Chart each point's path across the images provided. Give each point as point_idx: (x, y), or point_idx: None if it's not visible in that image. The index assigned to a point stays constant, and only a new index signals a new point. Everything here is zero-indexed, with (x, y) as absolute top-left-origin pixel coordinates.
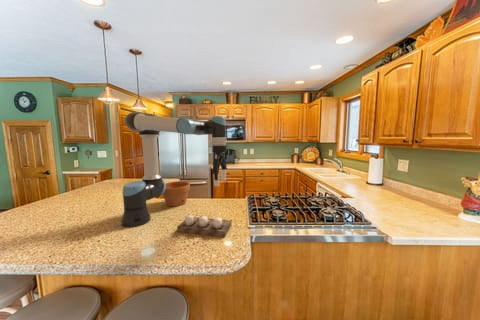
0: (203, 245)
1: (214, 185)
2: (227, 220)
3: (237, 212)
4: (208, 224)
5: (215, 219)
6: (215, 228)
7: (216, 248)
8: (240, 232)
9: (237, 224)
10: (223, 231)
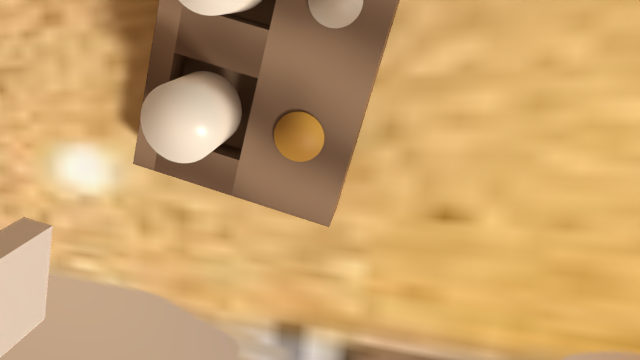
0: (42, 2)
1: (18, 227)
2: (330, 193)
3: (632, 289)
4: (274, 16)
5: (171, 103)
6: (253, 80)
7: (19, 95)
8: (221, 262)
9: (353, 257)
10: (136, 153)
